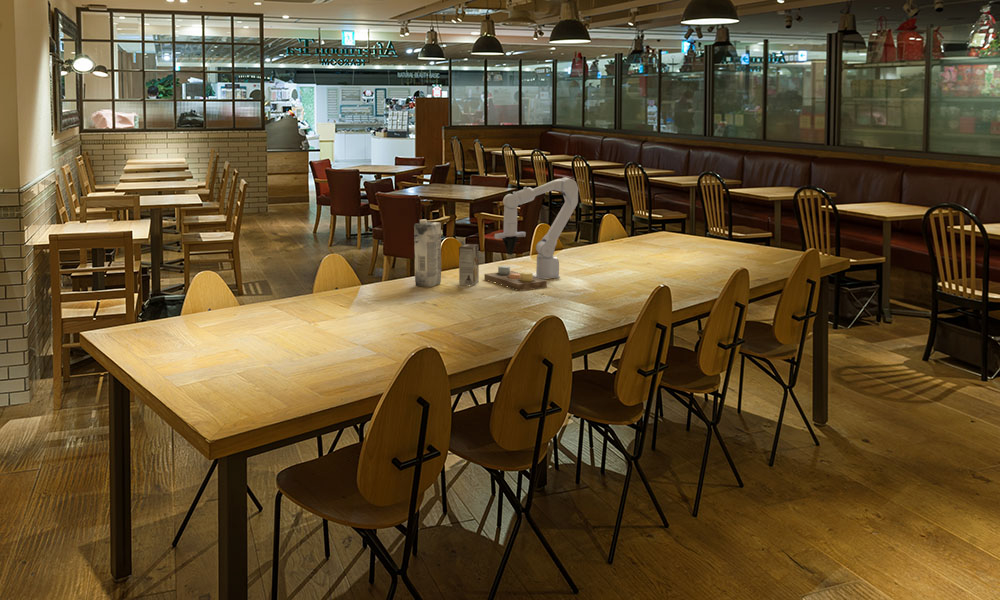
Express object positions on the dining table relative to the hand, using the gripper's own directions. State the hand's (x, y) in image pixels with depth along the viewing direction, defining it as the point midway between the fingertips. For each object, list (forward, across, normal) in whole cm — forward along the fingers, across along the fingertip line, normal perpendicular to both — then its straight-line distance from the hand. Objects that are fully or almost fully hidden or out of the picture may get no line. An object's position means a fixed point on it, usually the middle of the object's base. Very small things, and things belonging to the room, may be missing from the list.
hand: (509, 254), depth 376 cm
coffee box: (+11, +21, +1) cm, 23 cm away
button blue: (+8, +4, +2) cm, 9 cm away
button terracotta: (+10, +4, +10) cm, 15 cm away
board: (+10, +4, +10) cm, 15 cm away
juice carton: (+11, +37, -5) cm, 39 cm away
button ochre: (+8, +4, +19) cm, 21 cm away
